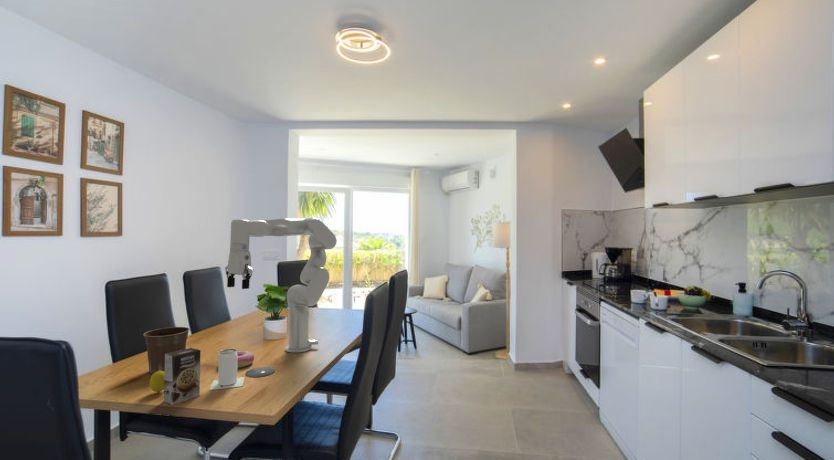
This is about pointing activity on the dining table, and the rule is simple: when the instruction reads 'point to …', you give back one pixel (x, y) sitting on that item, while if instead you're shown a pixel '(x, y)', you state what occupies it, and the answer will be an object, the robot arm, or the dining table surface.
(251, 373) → the coaster
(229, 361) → the can
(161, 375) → the lemon
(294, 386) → the dining table surface
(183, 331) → the plant pot
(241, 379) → the card
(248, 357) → the donut
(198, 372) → the coffee box
